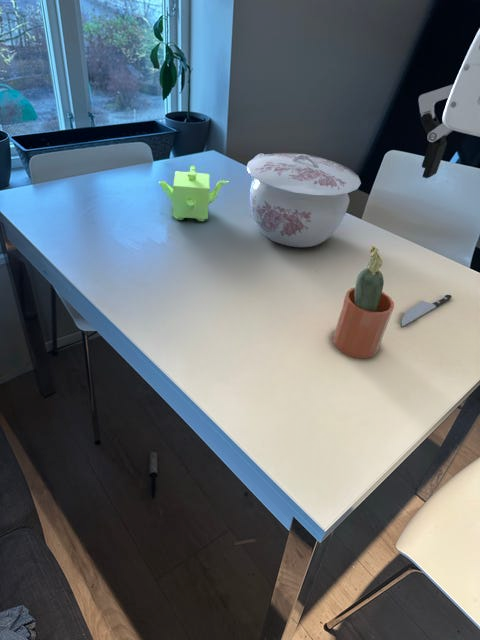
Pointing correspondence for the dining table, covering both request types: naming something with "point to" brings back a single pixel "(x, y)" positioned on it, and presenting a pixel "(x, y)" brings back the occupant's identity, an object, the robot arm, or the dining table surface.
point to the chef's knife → (421, 310)
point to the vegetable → (370, 284)
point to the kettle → (191, 194)
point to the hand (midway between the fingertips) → (469, 187)
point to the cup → (362, 326)
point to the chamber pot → (299, 197)
